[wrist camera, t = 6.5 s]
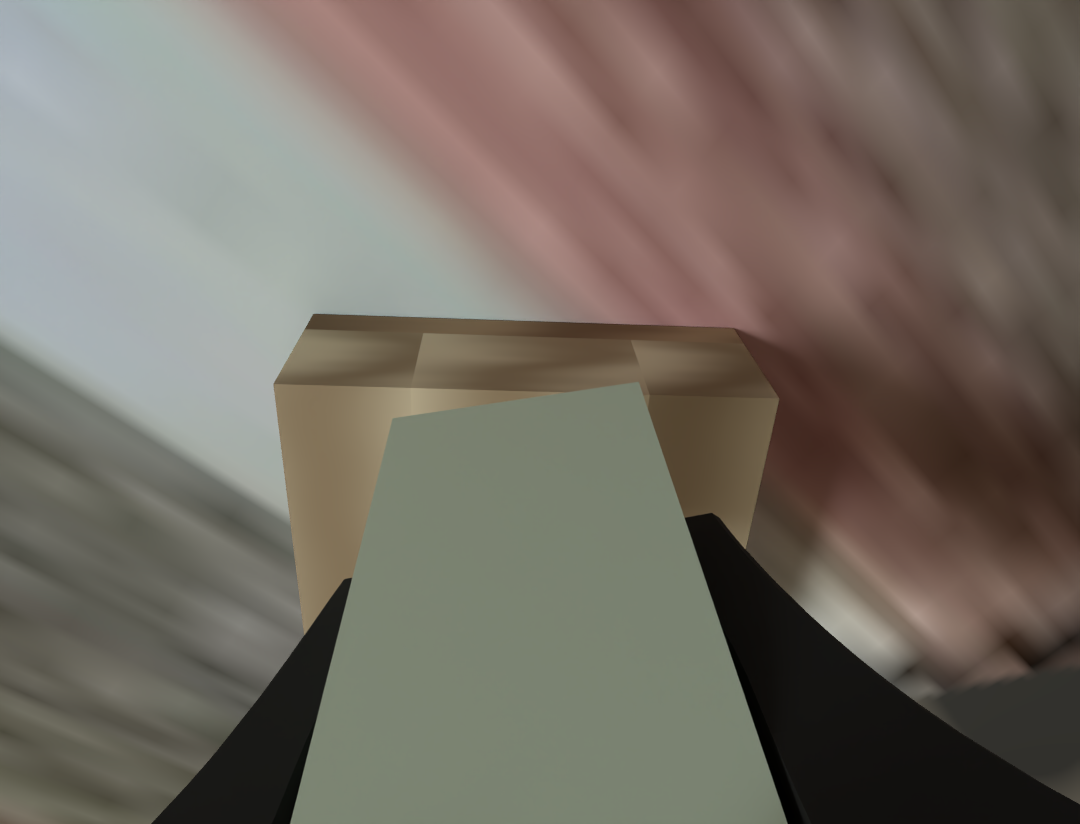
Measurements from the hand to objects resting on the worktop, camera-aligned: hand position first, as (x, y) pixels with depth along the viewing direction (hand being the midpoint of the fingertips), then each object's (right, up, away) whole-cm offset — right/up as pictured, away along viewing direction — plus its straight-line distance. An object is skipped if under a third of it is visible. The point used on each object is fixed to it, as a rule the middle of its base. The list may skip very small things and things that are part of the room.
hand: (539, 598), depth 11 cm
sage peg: (0, +1, +2) cm, 2 cm away
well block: (-1, 0, +12) cm, 12 cm away
